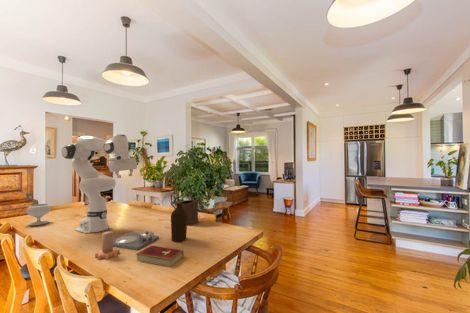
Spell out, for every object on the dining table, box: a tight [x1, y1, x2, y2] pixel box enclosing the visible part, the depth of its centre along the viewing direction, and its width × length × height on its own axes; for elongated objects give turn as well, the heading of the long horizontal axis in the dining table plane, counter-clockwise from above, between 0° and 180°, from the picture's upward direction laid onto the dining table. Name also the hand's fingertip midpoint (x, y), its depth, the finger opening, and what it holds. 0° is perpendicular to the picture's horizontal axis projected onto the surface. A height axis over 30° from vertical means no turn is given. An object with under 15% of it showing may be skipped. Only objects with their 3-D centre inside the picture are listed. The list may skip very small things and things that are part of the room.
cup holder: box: [170, 192, 200, 227], centre depth 181 cm, size 18×24×25 cm
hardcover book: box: [135, 244, 185, 267], centre depth 114 cm, size 12×21×4 cm, turn 72°
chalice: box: [26, 203, 51, 226], centre depth 175 cm, size 14×14×15 cm
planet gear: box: [94, 230, 120, 260], centre depth 118 cm, size 11×11×12 cm
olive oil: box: [170, 200, 188, 243], centre depth 141 cm, size 11×11×25 cm
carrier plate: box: [113, 231, 160, 251], centre depth 137 cm, size 24×20×6 cm
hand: (125, 177), depth 149 cm, fingers open, 8 cm apart
